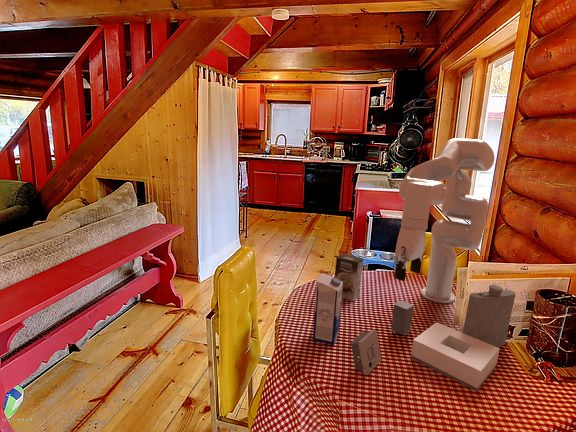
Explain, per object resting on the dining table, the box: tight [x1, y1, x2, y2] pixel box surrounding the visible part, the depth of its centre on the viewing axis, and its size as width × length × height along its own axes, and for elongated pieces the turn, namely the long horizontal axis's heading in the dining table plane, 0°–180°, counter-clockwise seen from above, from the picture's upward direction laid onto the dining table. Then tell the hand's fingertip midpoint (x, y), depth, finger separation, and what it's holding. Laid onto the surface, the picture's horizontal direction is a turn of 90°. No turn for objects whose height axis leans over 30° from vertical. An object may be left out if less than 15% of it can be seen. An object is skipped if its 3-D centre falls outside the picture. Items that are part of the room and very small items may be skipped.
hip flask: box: [462, 284, 516, 348], centre depth 108 cm, size 16×4×20 cm, turn 106°
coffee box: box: [334, 253, 364, 302], centre depth 139 cm, size 9×6×16 cm
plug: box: [390, 299, 414, 336], centre depth 115 cm, size 4×4×10 cm
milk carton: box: [312, 272, 343, 346], centre depth 109 cm, size 7×7×20 cm
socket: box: [410, 322, 501, 393], centre depth 101 cm, size 15×18×6 cm
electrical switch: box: [350, 329, 382, 376], centre depth 98 cm, size 9×5×9 cm, turn 141°
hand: (407, 275), depth 111 cm, fingers open, 9 cm apart
